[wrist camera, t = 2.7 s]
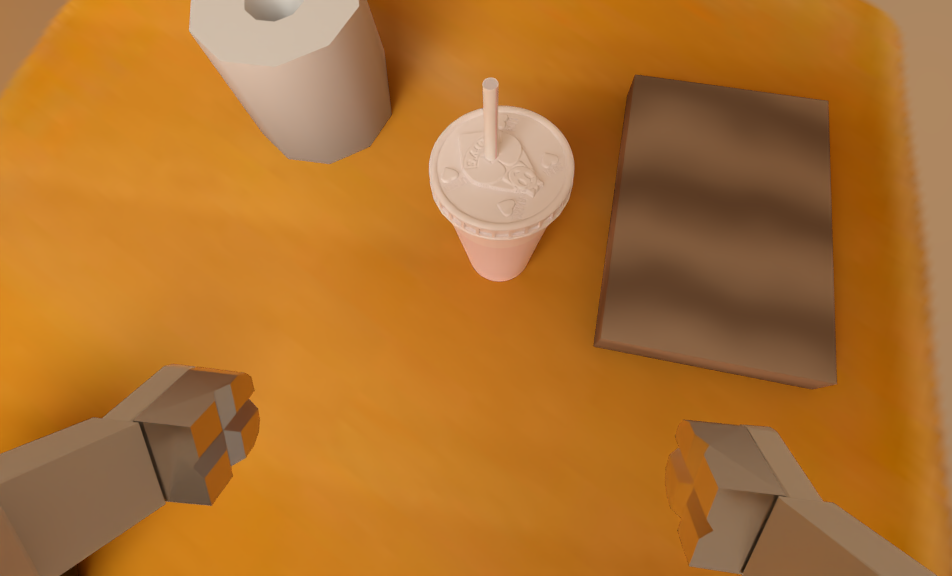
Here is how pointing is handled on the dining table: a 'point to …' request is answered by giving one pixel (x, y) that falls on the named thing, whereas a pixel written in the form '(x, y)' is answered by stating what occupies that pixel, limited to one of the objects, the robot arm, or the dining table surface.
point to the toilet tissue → (300, 70)
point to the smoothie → (501, 182)
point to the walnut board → (722, 233)
